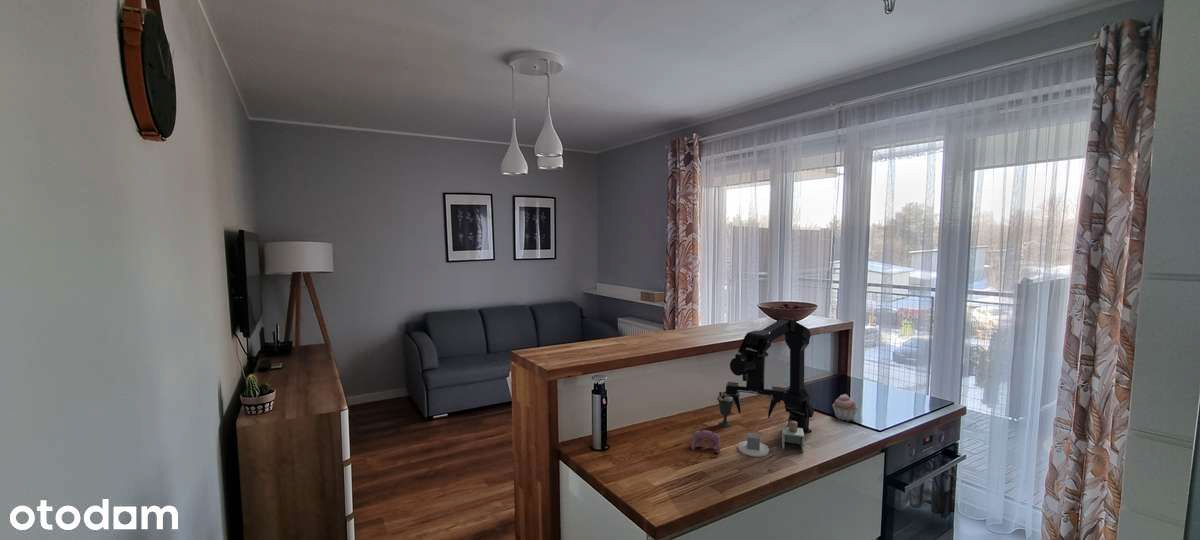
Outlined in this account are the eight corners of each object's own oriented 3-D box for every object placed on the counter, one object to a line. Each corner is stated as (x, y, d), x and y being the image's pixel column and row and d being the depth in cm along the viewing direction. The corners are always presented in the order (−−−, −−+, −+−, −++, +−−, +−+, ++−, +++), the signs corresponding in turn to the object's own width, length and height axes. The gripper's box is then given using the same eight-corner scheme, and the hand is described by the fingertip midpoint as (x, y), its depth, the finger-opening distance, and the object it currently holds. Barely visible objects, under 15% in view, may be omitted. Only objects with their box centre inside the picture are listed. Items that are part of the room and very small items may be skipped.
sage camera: (802, 443, 165) (802, 420, 165) (803, 451, 159) (804, 427, 158) (781, 440, 167) (782, 417, 167) (782, 448, 161) (783, 424, 161)
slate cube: (759, 445, 161) (760, 434, 161) (759, 450, 157) (759, 438, 157) (747, 443, 163) (747, 432, 162) (747, 448, 159) (747, 437, 159)
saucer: (758, 442, 166) (758, 439, 166) (774, 455, 156) (775, 452, 156) (732, 445, 164) (732, 442, 164) (747, 458, 154) (747, 455, 154)
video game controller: (720, 454, 160) (721, 432, 163) (720, 453, 156) (721, 431, 159) (691, 450, 163) (692, 428, 166) (690, 449, 159) (691, 427, 162)
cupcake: (862, 419, 187) (863, 395, 187) (850, 424, 182) (851, 399, 181) (839, 412, 195) (840, 388, 194) (826, 417, 190) (827, 392, 189)
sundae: (734, 428, 178) (735, 389, 177) (716, 427, 179) (717, 388, 178) (733, 422, 184) (734, 384, 183) (715, 420, 186) (716, 383, 185)
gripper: (784, 366, 163) (782, 411, 164) (728, 361, 169) (727, 404, 170) (785, 375, 152) (784, 422, 153) (726, 370, 158) (724, 415, 159)
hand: (754, 415), depth 159 cm, fingers open, 9 cm apart
